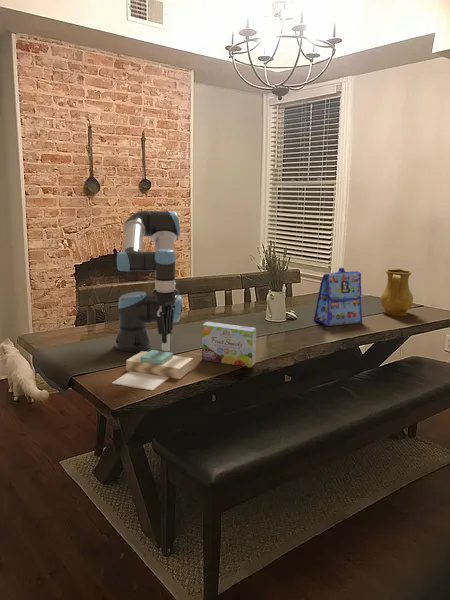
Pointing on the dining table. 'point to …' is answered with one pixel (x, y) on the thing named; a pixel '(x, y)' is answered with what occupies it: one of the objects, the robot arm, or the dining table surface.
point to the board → (161, 366)
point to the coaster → (156, 357)
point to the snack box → (228, 344)
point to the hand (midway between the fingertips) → (165, 350)
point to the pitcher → (397, 293)
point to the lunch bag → (339, 299)
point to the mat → (140, 380)
